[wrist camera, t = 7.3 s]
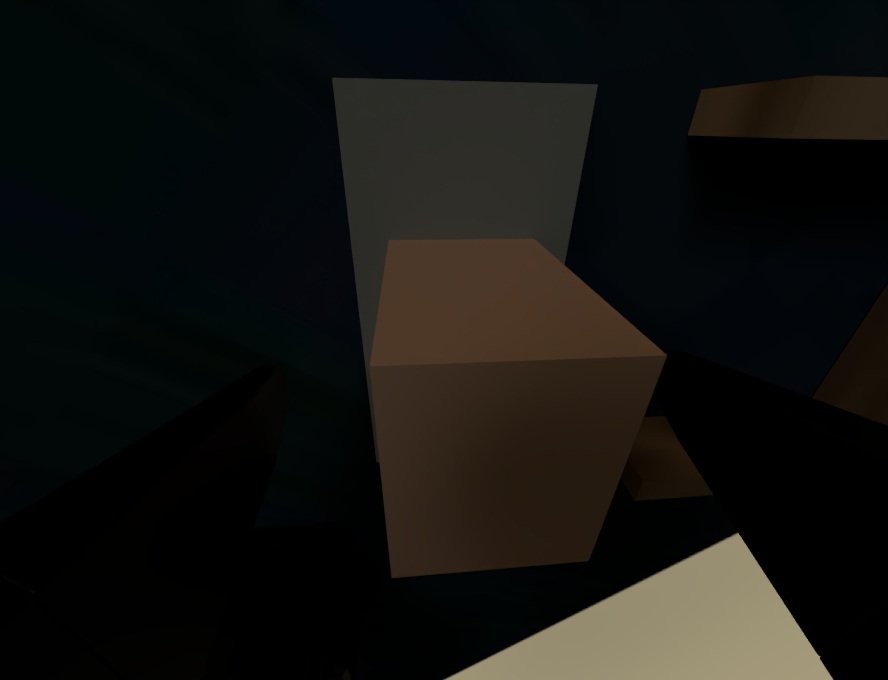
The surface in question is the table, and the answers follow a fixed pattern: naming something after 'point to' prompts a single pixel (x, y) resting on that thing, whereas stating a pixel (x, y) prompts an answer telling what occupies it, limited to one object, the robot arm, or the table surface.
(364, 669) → the table surface
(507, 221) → the grey mat
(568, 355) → the terracotta block
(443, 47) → the table surface
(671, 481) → the u-shaped block
